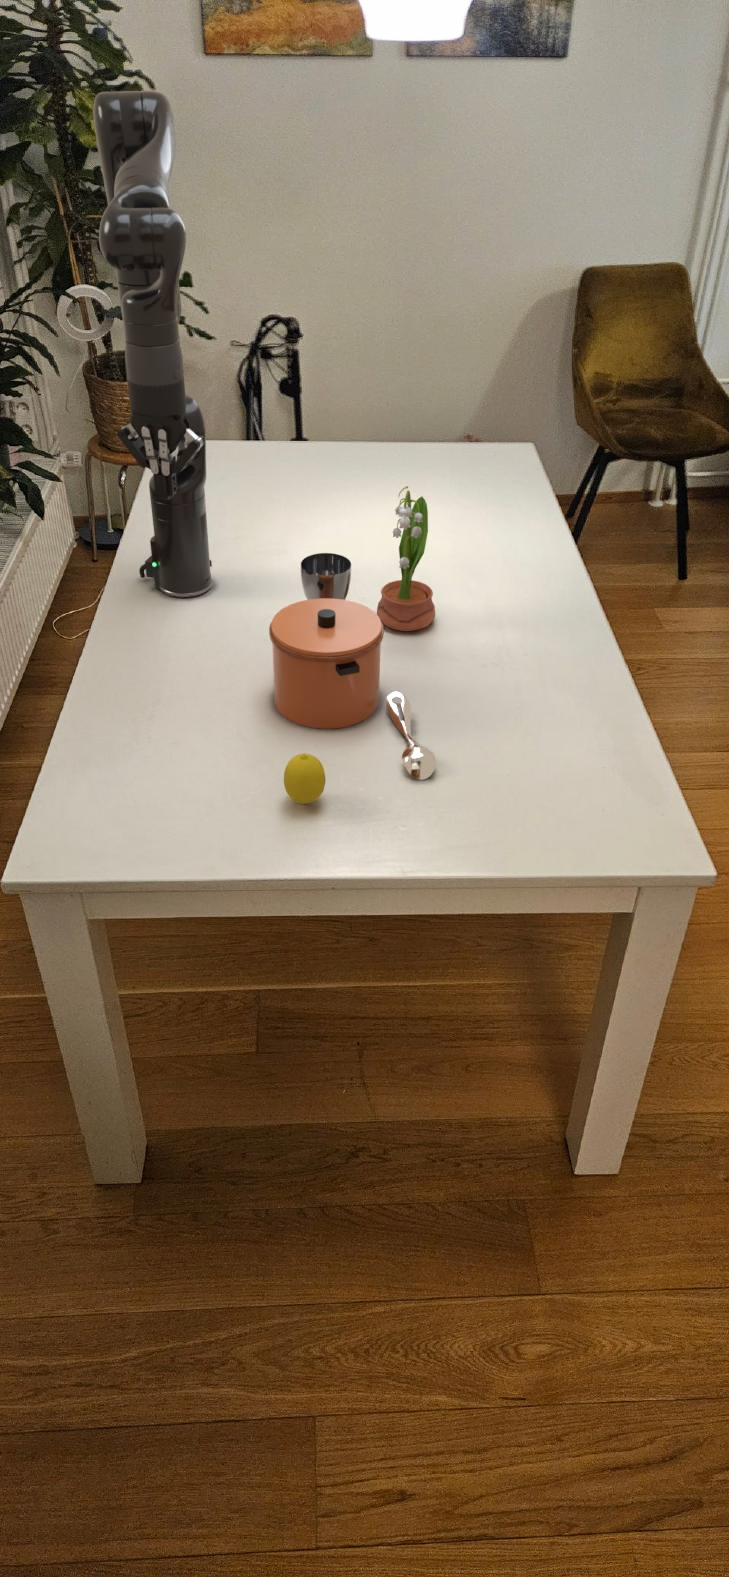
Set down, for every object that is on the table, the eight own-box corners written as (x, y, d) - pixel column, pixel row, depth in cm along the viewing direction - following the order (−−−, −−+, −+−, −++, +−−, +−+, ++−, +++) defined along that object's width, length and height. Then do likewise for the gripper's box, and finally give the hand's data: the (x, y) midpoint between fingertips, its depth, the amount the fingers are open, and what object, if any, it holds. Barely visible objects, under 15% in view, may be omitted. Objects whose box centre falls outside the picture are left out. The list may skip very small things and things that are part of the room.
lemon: (283, 791, 150) (282, 743, 145) (324, 789, 150) (324, 742, 146) (285, 816, 146) (283, 768, 141) (326, 814, 146) (326, 766, 141)
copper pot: (295, 743, 159) (292, 654, 150) (255, 678, 173) (251, 593, 164) (401, 721, 164) (405, 634, 155) (355, 659, 178) (356, 576, 169)
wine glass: (356, 640, 183) (358, 557, 174) (340, 663, 177) (341, 579, 168) (312, 632, 185) (311, 549, 176) (294, 654, 179) (292, 570, 170)
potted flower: (428, 644, 182) (437, 501, 167) (369, 637, 184) (372, 495, 169) (438, 611, 192) (448, 472, 176) (382, 604, 193) (386, 466, 178)
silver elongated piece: (380, 681, 165) (411, 679, 166) (379, 701, 168) (409, 698, 168) (406, 766, 151) (440, 763, 151) (405, 785, 153) (438, 783, 154)
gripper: (212, 372, 148) (219, 494, 159) (124, 360, 151) (137, 480, 162) (188, 389, 142) (197, 515, 153) (97, 376, 145) (112, 500, 156)
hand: (166, 497), depth 157 cm, fingers closed
